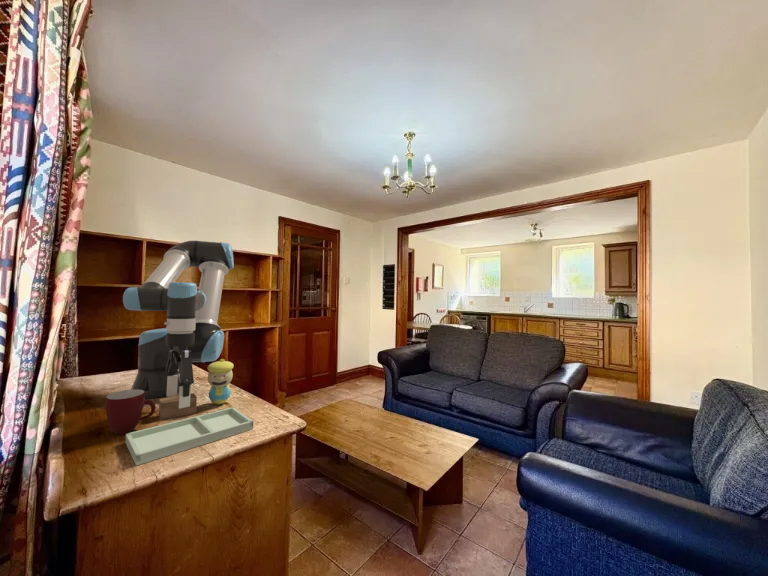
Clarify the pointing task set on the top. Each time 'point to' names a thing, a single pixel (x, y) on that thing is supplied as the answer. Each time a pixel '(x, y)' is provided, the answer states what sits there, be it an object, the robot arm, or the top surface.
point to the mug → (126, 410)
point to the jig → (185, 434)
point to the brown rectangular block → (175, 407)
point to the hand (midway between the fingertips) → (177, 401)
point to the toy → (220, 380)
